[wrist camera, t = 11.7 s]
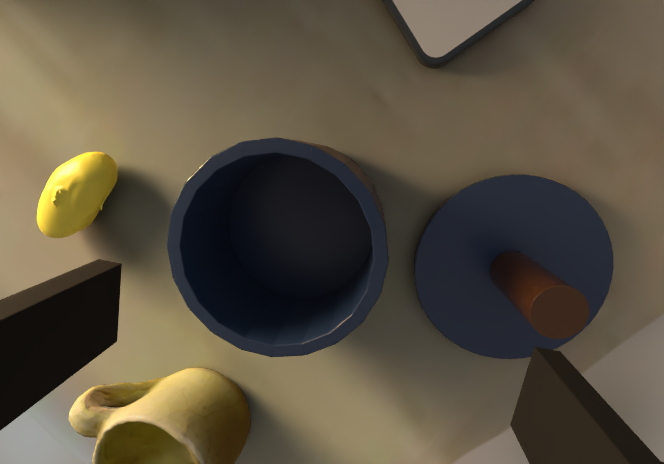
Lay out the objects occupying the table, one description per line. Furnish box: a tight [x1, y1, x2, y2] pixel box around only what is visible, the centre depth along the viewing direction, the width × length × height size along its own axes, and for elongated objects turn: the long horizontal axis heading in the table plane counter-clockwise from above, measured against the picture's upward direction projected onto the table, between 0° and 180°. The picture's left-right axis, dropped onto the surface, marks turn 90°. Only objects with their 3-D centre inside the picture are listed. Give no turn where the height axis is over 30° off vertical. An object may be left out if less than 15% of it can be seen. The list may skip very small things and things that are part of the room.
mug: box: [69, 368, 251, 464], centre depth 31 cm, size 12×10×10 cm
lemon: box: [37, 152, 117, 238], centre depth 31 cm, size 4×8×4 cm, turn 134°
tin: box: [167, 138, 388, 357], centre depth 27 cm, size 13×13×8 cm
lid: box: [414, 175, 613, 359], centre depth 26 cm, size 14×14×9 cm
